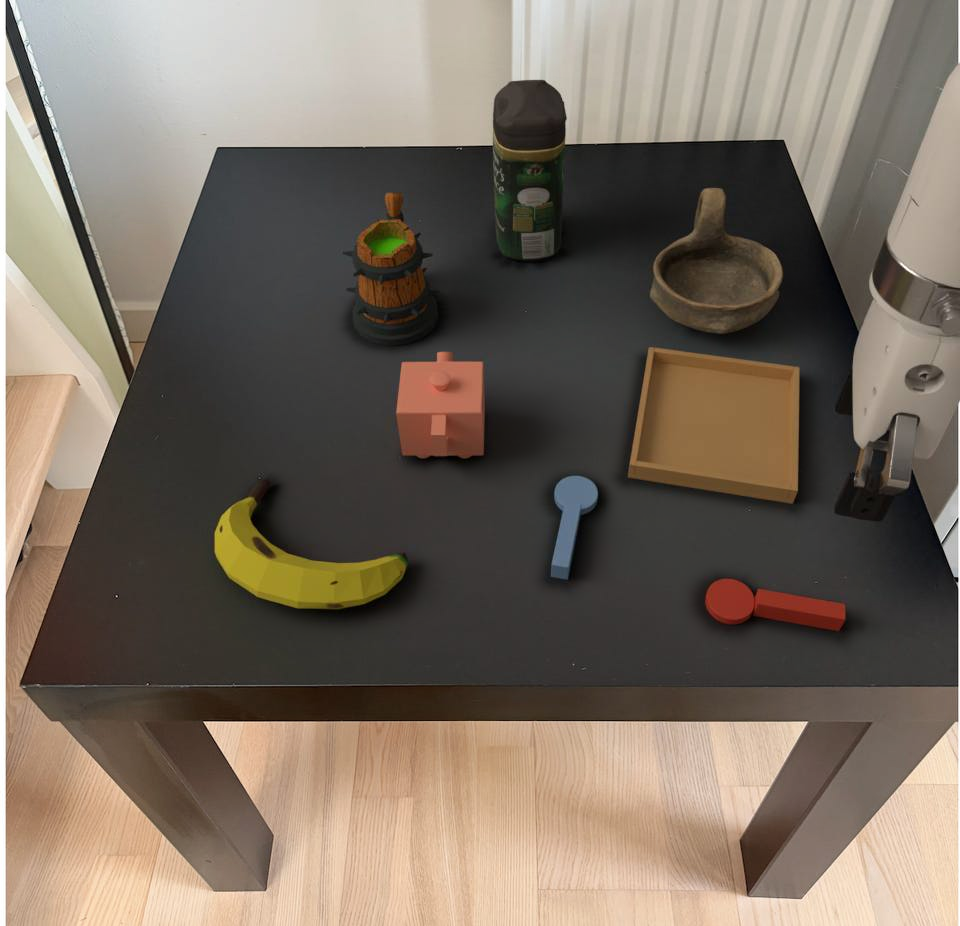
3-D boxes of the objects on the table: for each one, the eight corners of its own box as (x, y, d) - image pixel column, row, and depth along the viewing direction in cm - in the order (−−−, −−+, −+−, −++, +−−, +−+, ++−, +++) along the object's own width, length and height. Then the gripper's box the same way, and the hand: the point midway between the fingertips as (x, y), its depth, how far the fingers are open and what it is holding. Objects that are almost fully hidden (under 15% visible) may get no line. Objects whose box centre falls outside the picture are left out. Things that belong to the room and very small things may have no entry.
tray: (794, 380, 93) (799, 367, 92) (792, 504, 83) (798, 490, 82) (646, 360, 96) (649, 346, 94) (627, 477, 86) (629, 464, 84)
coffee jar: (492, 217, 113) (489, 73, 98) (556, 214, 113) (562, 69, 98) (496, 267, 106) (494, 120, 92) (564, 263, 106) (571, 117, 92)
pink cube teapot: (485, 388, 94) (483, 328, 88) (483, 479, 86) (480, 421, 80) (410, 388, 94) (403, 329, 88) (401, 479, 87) (392, 421, 80)
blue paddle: (581, 582, 79) (583, 570, 77) (536, 574, 79) (537, 561, 78) (600, 485, 85) (601, 471, 84) (558, 478, 86) (559, 464, 85)
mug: (436, 348, 98) (429, 262, 89) (343, 346, 99) (326, 260, 90) (447, 272, 106) (441, 186, 97) (361, 270, 107) (347, 184, 98)
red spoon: (838, 603, 77) (845, 591, 75) (839, 644, 74) (846, 632, 73) (706, 580, 78) (710, 567, 77) (703, 620, 76) (707, 607, 74)
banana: (403, 591, 74) (415, 468, 85) (189, 583, 73) (230, 461, 85) (403, 626, 77) (415, 503, 88) (198, 619, 76) (236, 496, 88)
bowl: (649, 353, 97) (661, 278, 89) (642, 250, 108) (652, 177, 100) (781, 356, 96) (804, 282, 88) (760, 253, 107) (779, 178, 99)
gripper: (1033, 389, 46) (916, 570, 60) (998, 195, 57) (905, 386, 70) (880, 366, 48) (799, 549, 61) (873, 181, 58) (805, 371, 71)
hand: (856, 461), depth 65 cm, fingers open, 9 cm apart
